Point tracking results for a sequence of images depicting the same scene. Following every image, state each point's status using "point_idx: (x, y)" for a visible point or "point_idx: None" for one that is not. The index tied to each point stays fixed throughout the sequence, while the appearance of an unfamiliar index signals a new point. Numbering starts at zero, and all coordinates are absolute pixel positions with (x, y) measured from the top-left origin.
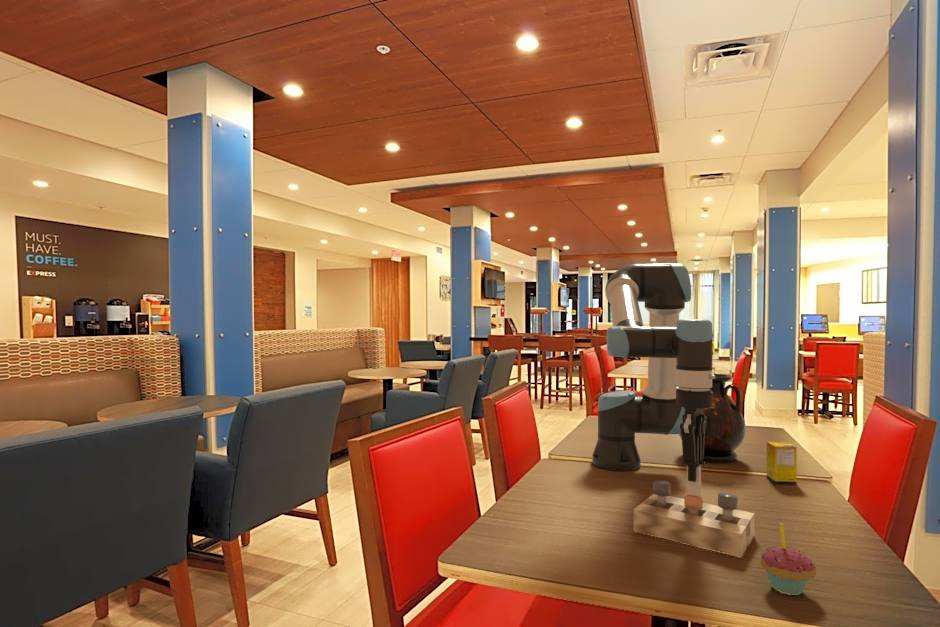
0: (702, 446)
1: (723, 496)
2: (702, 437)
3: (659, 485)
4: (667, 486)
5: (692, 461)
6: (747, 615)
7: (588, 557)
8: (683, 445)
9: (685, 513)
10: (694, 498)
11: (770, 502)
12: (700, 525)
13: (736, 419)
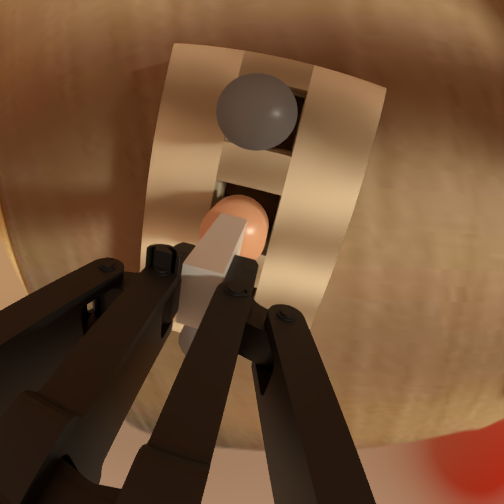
0: (260, 418)
1: (189, 334)
2: (269, 473)
3: (217, 105)
4: (230, 138)
5: (85, 312)
6: (18, 274)
7: (47, 36)
8: (4, 317)
9: (208, 195)
10: (200, 239)
11: (487, 356)
12: (143, 236)
13: None
